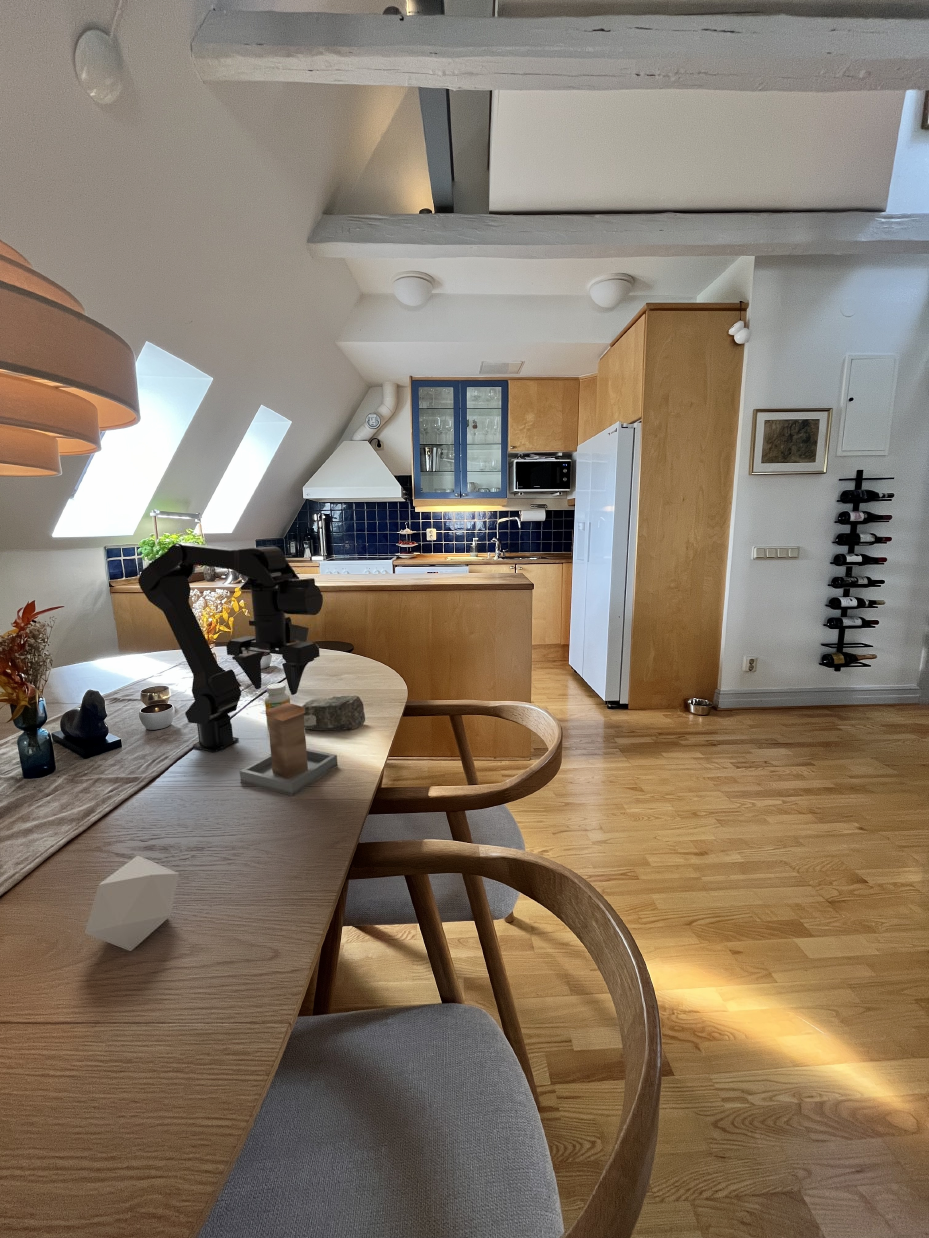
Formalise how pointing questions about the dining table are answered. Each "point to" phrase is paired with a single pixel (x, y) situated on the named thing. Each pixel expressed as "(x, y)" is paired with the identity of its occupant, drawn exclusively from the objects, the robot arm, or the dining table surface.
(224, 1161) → the dining table surface
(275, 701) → the supplement bottle
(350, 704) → the stone
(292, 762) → the brown block
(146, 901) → the die
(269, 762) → the tray
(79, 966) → the dining table surface
